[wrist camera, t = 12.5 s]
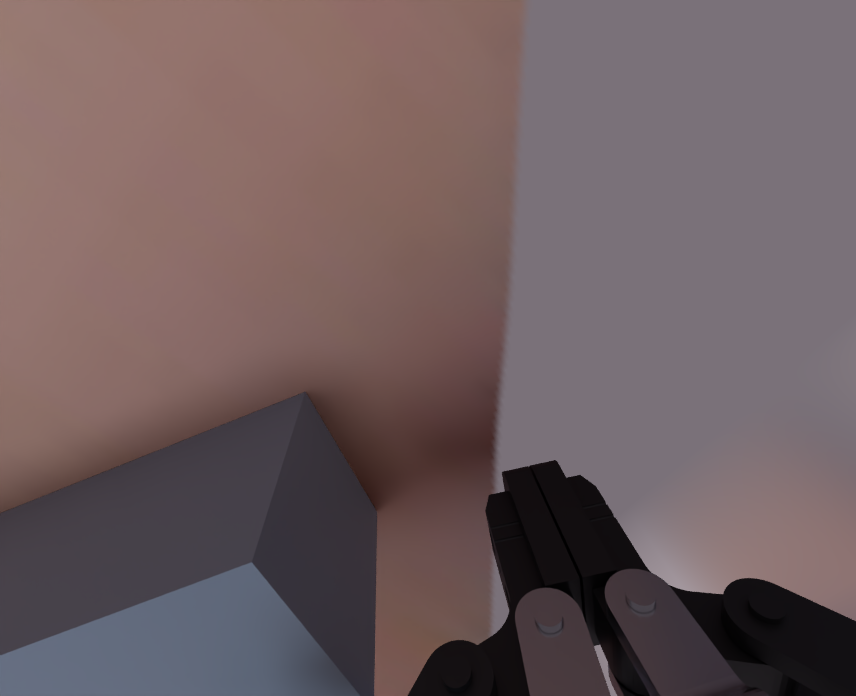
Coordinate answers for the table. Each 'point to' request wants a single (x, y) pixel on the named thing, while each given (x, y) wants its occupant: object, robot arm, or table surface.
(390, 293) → the table surface
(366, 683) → the pale blue brick
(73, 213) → the table surface
